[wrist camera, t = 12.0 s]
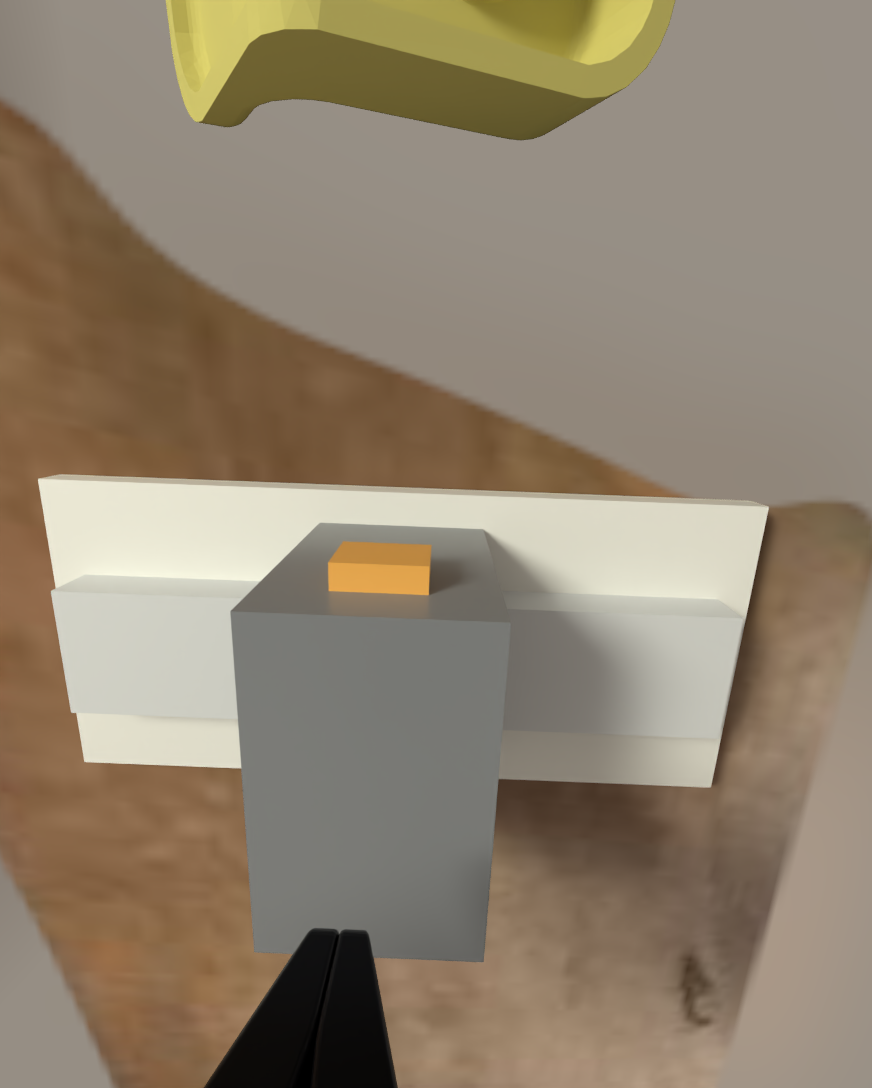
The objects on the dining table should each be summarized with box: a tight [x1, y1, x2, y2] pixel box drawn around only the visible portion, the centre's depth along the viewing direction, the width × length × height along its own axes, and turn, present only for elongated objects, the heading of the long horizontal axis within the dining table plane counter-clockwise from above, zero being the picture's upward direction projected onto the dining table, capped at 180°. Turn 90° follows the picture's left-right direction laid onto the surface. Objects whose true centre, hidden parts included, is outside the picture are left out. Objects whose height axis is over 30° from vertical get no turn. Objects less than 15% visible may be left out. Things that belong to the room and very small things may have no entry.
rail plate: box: [38, 474, 769, 788], centre depth 17 cm, size 10×22×2 cm, turn 88°
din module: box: [230, 523, 511, 962], centre depth 14 cm, size 9×5×7 cm, turn 178°
